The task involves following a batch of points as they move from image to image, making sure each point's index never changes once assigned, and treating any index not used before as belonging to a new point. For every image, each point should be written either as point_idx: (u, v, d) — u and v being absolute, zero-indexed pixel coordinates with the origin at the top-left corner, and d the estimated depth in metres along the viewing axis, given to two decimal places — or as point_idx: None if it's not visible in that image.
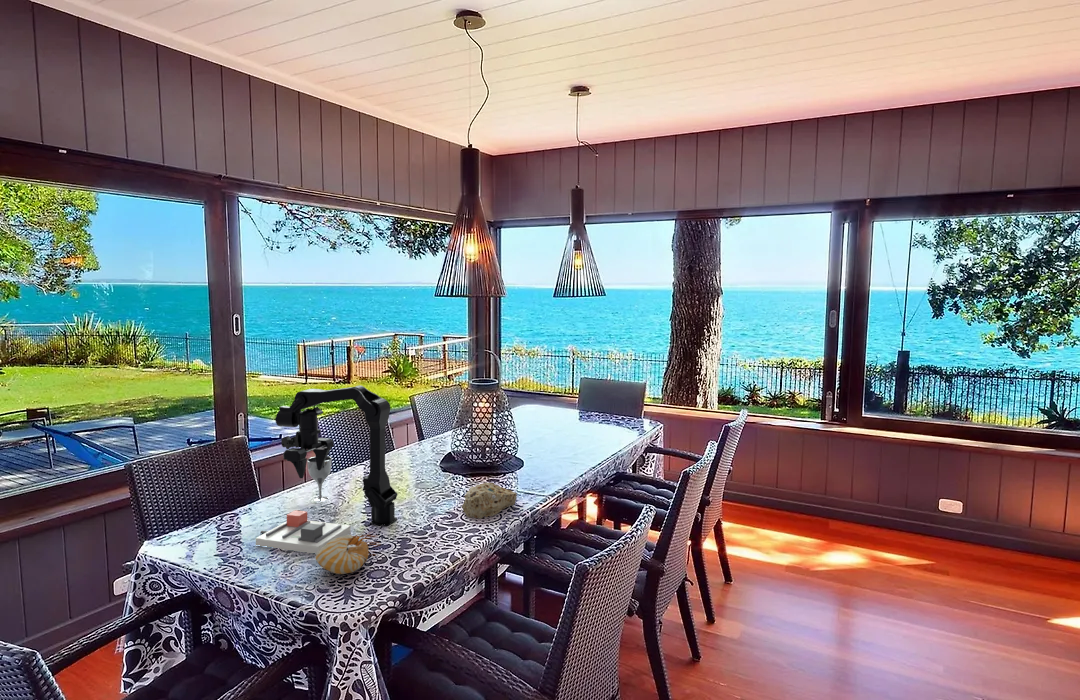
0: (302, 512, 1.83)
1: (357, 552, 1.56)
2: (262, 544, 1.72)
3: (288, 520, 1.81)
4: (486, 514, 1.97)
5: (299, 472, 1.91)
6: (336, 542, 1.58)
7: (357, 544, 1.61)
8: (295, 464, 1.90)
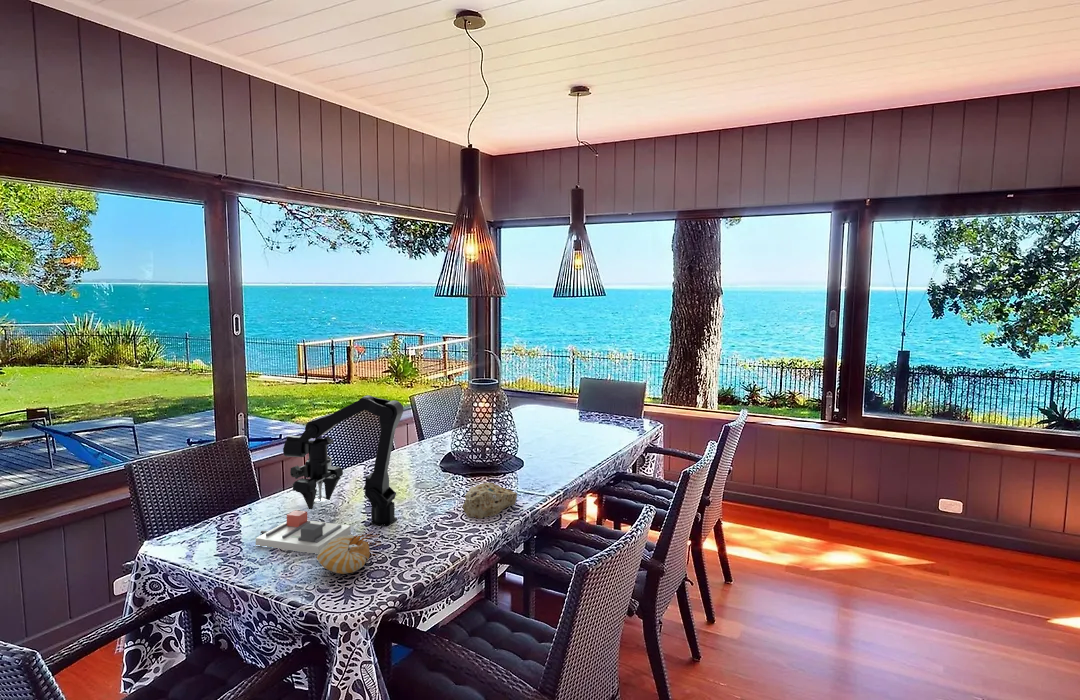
0: (302, 512, 1.83)
1: (358, 552, 1.56)
2: (262, 544, 1.72)
3: (288, 520, 1.81)
4: (487, 514, 1.97)
5: (308, 503, 1.88)
6: (337, 542, 1.58)
7: (358, 544, 1.61)
8: (304, 495, 1.87)
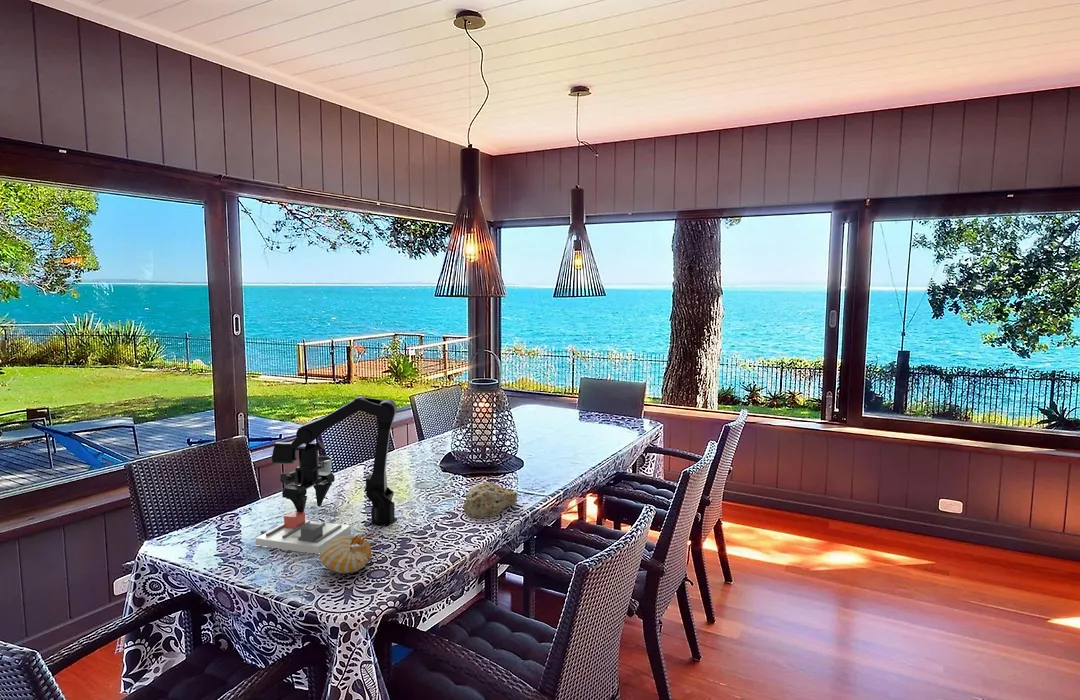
0: (300, 513, 1.82)
1: (360, 551, 1.57)
2: (262, 544, 1.72)
3: (286, 521, 1.80)
4: (487, 514, 1.97)
5: (298, 510, 1.83)
6: (339, 542, 1.58)
7: (360, 543, 1.61)
8: (294, 502, 1.83)
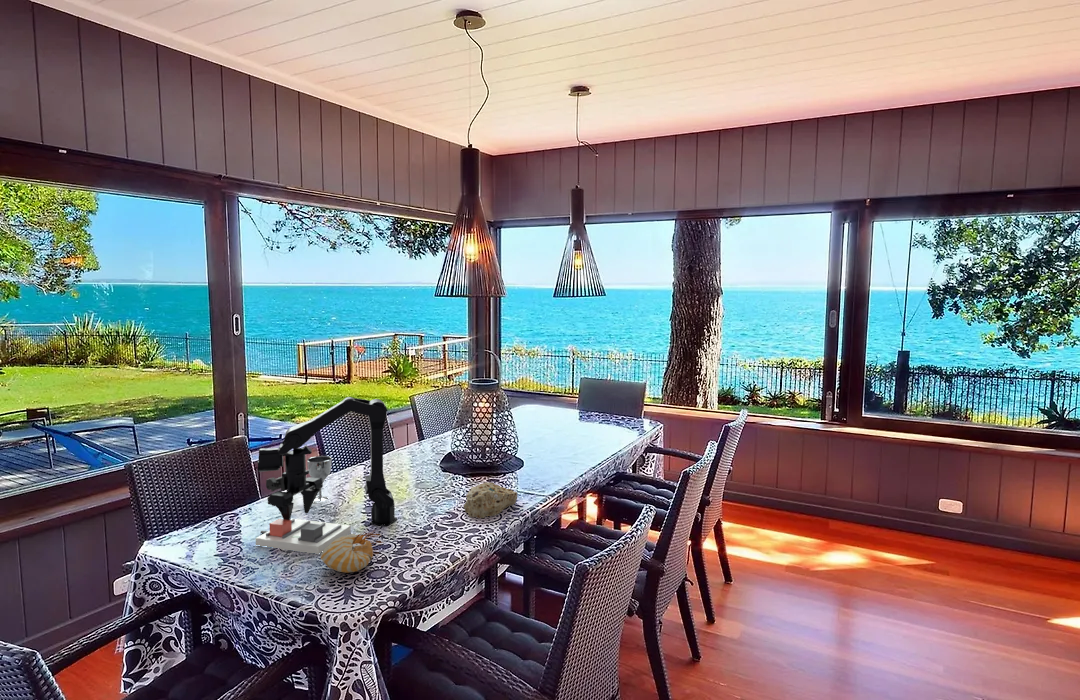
0: (286, 521, 1.76)
1: (362, 550, 1.57)
2: (262, 544, 1.72)
3: (271, 529, 1.74)
4: (488, 514, 1.97)
5: (285, 517, 1.77)
6: (341, 541, 1.58)
7: (361, 543, 1.62)
8: (280, 509, 1.76)
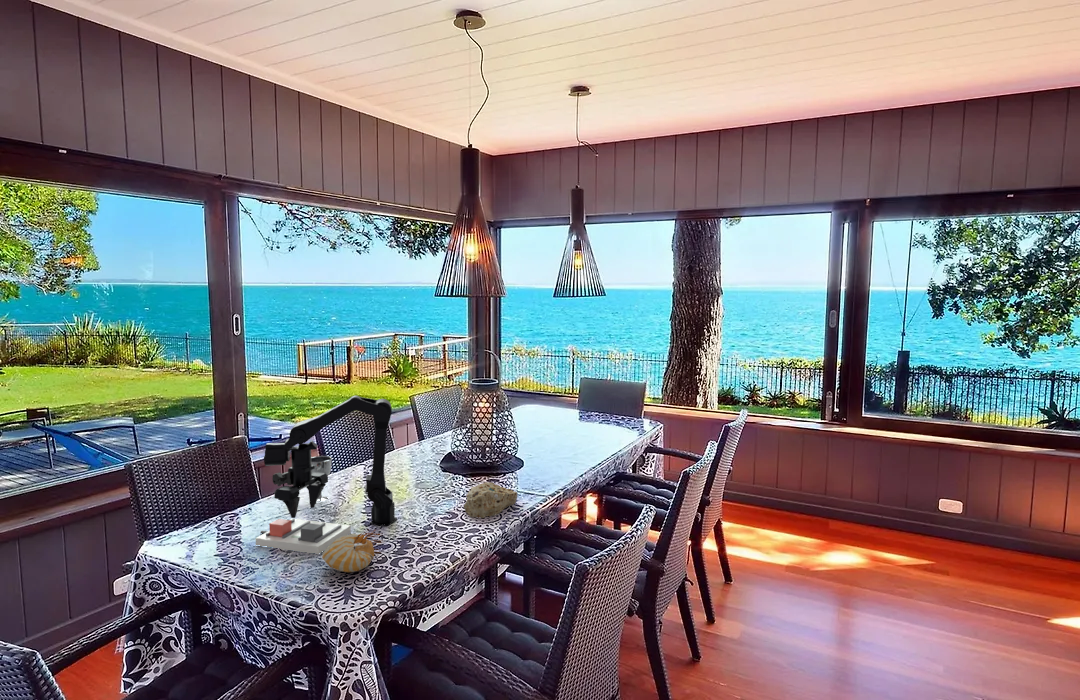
0: (286, 521, 1.76)
1: (364, 550, 1.57)
2: (262, 544, 1.72)
3: (271, 529, 1.74)
4: (488, 514, 1.97)
5: (291, 511, 1.80)
6: (342, 541, 1.58)
7: (362, 542, 1.62)
8: (287, 503, 1.79)
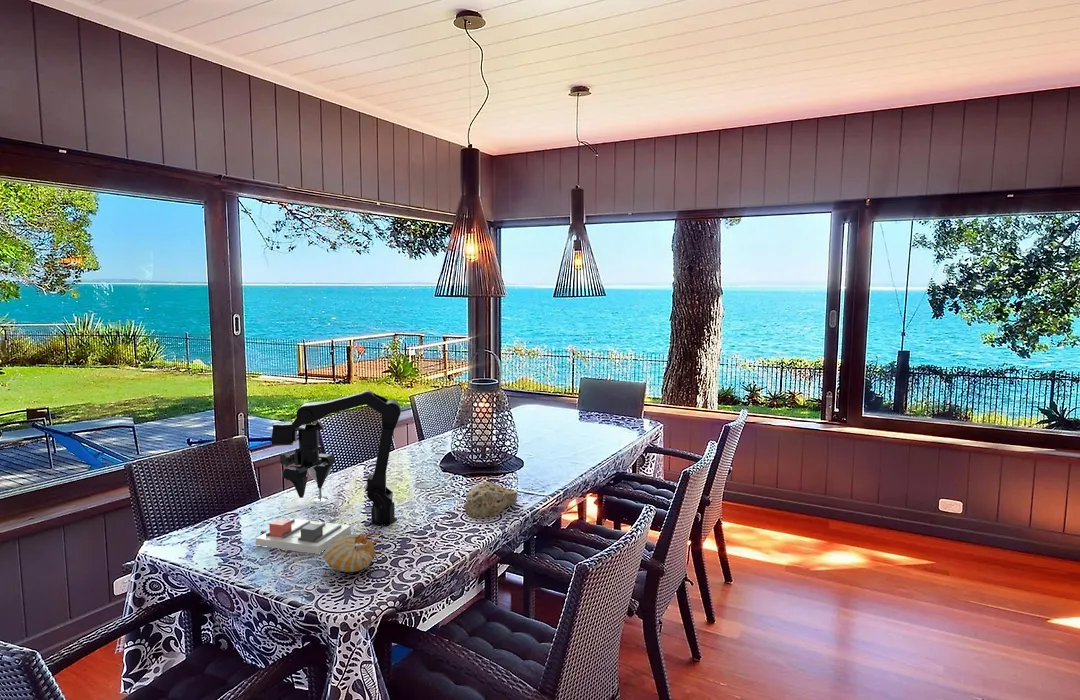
0: (286, 521, 1.76)
1: (365, 550, 1.57)
2: (262, 544, 1.72)
3: (271, 529, 1.74)
4: (489, 513, 1.97)
5: (299, 491, 1.80)
6: (343, 541, 1.58)
7: (363, 542, 1.62)
8: (295, 483, 1.80)
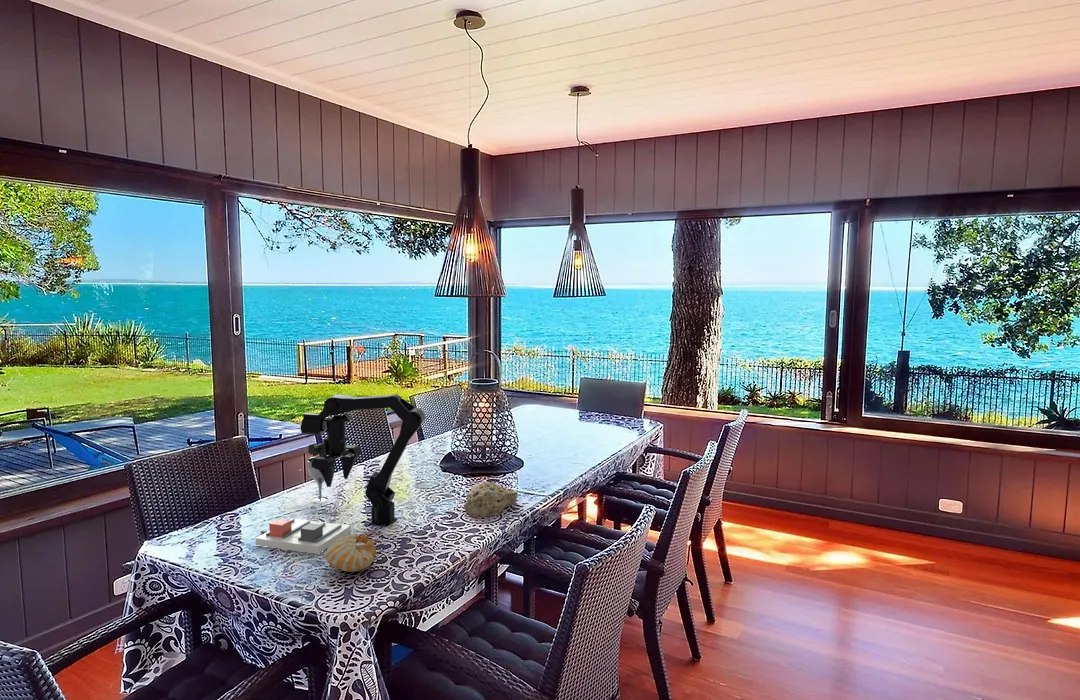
0: (286, 521, 1.76)
1: (366, 549, 1.58)
2: (262, 544, 1.72)
3: (271, 529, 1.74)
4: (489, 513, 1.97)
5: (327, 481, 1.85)
6: (344, 540, 1.59)
7: (364, 542, 1.62)
8: (323, 472, 1.84)
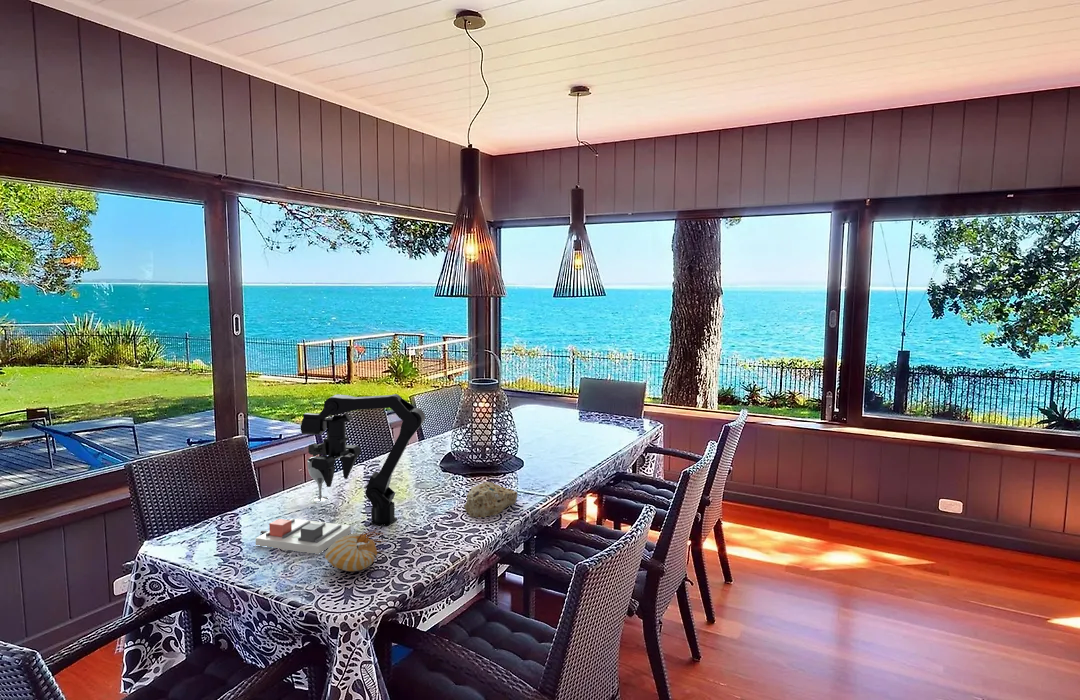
0: (286, 521, 1.76)
1: (367, 549, 1.58)
2: (262, 544, 1.72)
3: (271, 529, 1.74)
4: (489, 513, 1.98)
5: (327, 481, 1.85)
6: (345, 540, 1.59)
7: (365, 542, 1.62)
8: (323, 472, 1.84)
